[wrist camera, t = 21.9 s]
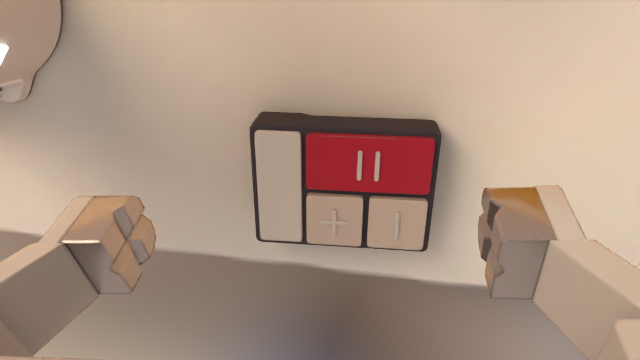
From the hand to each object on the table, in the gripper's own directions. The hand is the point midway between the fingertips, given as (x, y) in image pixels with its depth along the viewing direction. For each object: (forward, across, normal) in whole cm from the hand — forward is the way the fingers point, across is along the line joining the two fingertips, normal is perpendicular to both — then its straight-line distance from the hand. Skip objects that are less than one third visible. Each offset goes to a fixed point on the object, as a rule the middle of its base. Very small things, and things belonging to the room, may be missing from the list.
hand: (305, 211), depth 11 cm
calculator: (+24, +2, +18) cm, 30 cm away
